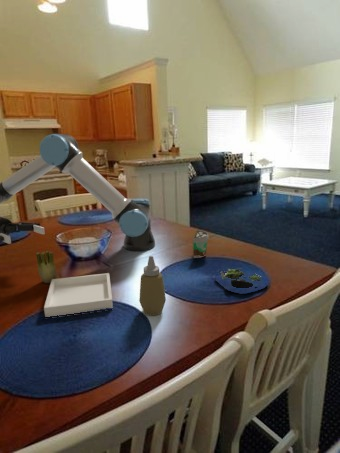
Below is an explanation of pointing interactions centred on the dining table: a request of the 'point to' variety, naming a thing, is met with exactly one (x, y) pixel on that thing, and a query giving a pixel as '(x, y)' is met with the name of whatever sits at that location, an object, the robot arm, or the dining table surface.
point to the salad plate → (235, 275)
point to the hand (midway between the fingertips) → (27, 235)
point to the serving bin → (78, 295)
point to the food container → (200, 243)
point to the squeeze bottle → (152, 289)
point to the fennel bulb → (46, 267)
